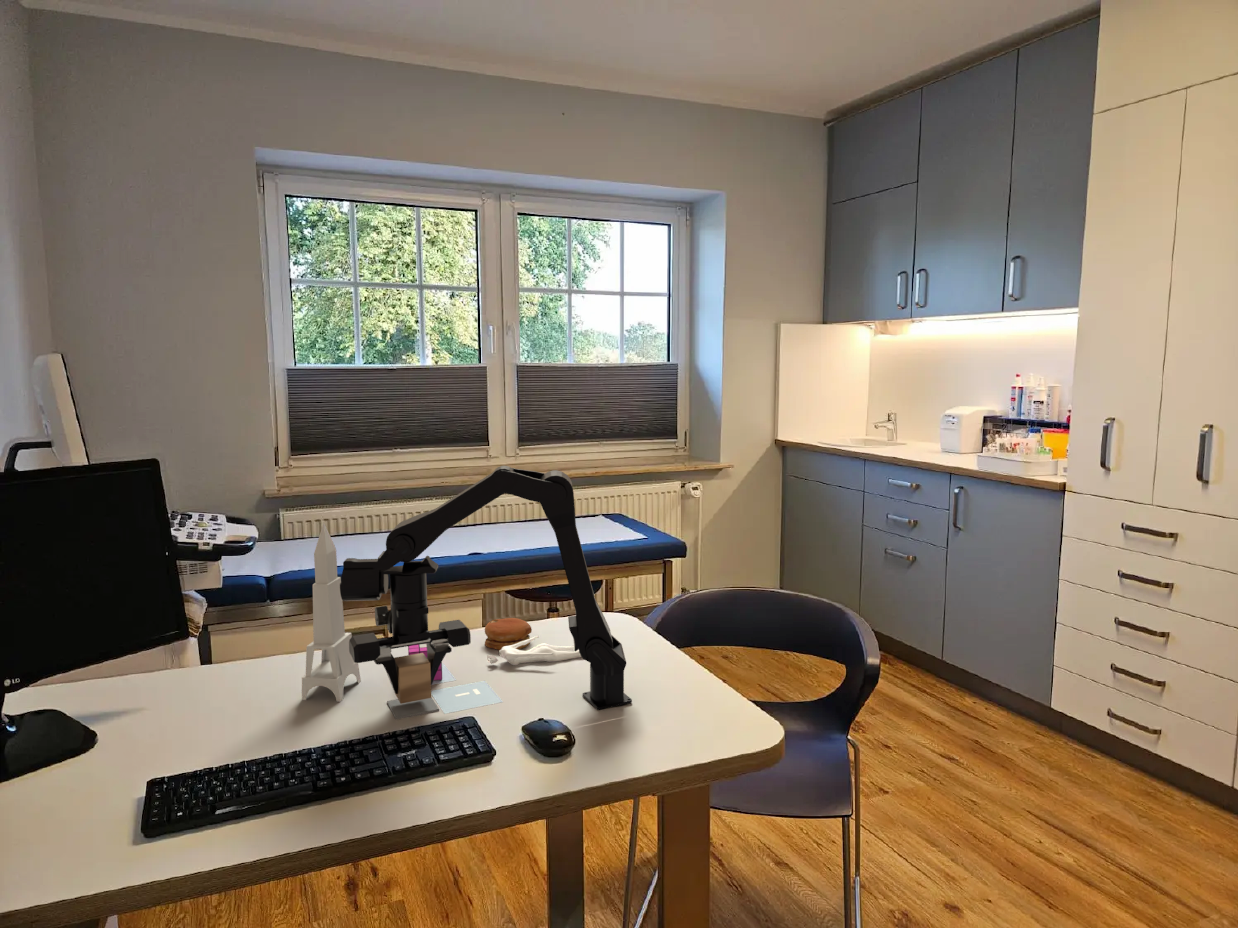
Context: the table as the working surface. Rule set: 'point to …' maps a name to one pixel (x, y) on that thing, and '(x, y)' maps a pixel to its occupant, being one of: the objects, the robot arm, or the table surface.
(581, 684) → the table surface
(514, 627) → the burger
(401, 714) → the pad
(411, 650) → the puzzle toy
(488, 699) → the code card
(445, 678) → the code card
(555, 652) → the figurine
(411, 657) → the walnut block
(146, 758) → the table surface
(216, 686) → the table surface
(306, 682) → the sculpture
